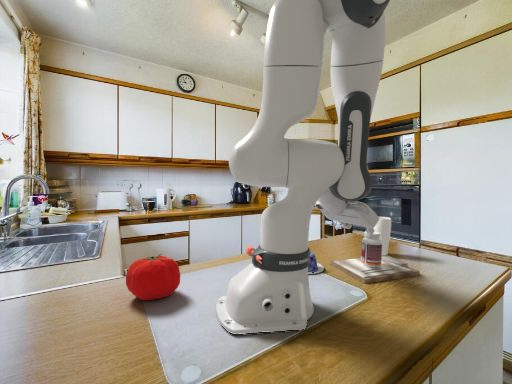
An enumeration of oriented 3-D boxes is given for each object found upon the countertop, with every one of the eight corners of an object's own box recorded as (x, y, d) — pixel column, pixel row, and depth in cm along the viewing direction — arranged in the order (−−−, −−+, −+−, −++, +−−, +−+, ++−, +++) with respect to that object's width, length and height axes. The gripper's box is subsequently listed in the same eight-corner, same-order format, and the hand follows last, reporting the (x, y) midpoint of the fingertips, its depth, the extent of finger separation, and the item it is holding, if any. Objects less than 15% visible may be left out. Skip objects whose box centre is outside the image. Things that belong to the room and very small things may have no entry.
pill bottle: (384, 265, 78) (386, 233, 78) (375, 269, 75) (376, 235, 74) (366, 260, 83) (368, 229, 83) (357, 263, 80) (358, 231, 79)
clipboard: (364, 283, 68) (364, 275, 68) (330, 264, 83) (330, 257, 83) (419, 274, 75) (419, 267, 75) (378, 258, 90) (378, 252, 90)
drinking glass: (390, 253, 96) (391, 217, 96) (389, 258, 91) (391, 219, 90) (372, 250, 100) (373, 215, 99) (370, 254, 94) (371, 217, 94)
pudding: (289, 275, 74) (289, 258, 74) (286, 261, 86) (286, 247, 86) (327, 276, 73) (328, 260, 73) (319, 262, 85) (320, 248, 85)
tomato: (176, 305, 55) (176, 262, 54) (118, 309, 53) (117, 265, 52) (183, 284, 66) (183, 248, 65) (135, 287, 64) (134, 250, 63)
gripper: (368, 193, 64) (393, 227, 68) (322, 192, 83) (343, 218, 87) (355, 210, 63) (381, 244, 66) (311, 204, 82) (333, 231, 85)
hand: (359, 229), depth 77 cm, fingers open, 8 cm apart
